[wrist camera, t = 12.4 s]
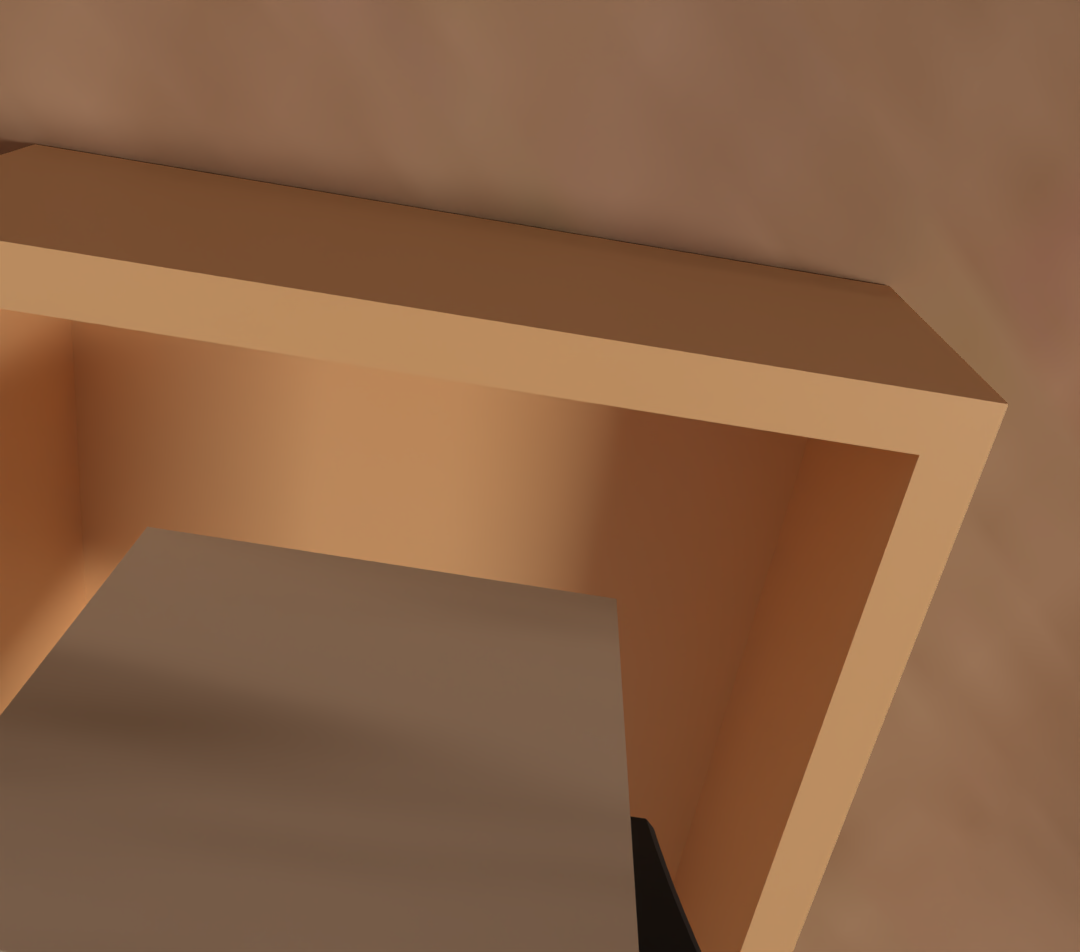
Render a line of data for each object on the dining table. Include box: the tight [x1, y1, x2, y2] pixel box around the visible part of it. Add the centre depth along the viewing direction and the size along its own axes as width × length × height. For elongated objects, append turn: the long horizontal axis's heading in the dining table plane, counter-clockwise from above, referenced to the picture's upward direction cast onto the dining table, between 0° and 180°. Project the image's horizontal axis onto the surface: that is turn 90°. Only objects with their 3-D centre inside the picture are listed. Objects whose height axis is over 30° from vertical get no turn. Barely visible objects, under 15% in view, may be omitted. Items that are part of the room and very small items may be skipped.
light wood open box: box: [0, 144, 1008, 952], centre depth 18 cm, size 18×14×5 cm
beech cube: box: [0, 527, 639, 952], centre depth 10 cm, size 5×5×5 cm
